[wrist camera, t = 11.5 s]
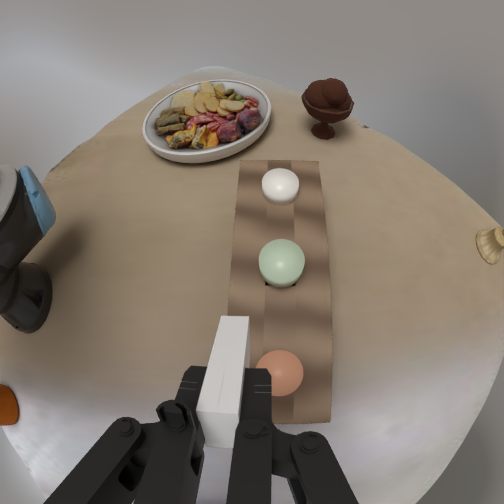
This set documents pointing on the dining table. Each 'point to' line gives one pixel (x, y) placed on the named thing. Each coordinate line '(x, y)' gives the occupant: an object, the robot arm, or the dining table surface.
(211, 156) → the bowl
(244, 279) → the console
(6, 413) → the wine bottle
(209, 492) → the dining table surface
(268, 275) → the sage button
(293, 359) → the terracotta button
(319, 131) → the ice cream bowl
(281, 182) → the cream button
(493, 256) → the hand bell
